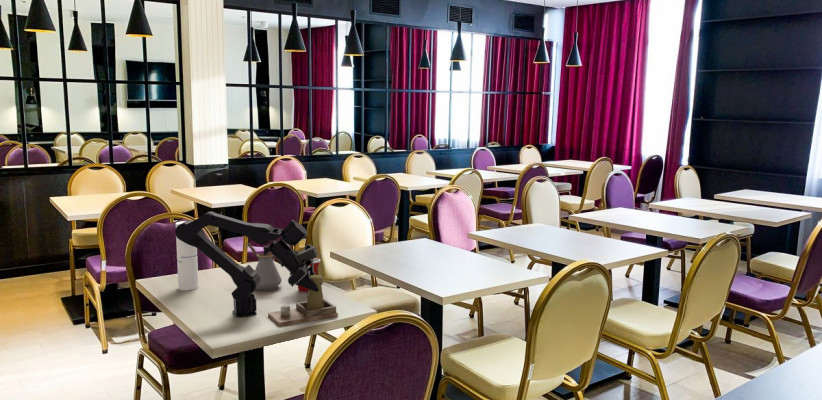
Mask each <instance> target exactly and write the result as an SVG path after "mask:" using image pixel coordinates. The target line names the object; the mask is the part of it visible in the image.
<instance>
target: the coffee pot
mask: <svg viewBox="0 0 822 400" xmlns="http://www.w3.org/2000/svg"><path fill="white" fill-rule="evenodd" d="M246 245H247V246H246ZM244 246H245V248H250V250H251V251H252V253H253V254H254V255H255V256H256V257H257V258H258V261H257V264H256V267H255V269H254V270H255V271H258V273H257V274H258V275H259V276H260V284H259V286H258V287H257V288H256V289H255V290H258V291H272V290H275V289H277V287H278V286H280V285H281V283H282V276H281V275H280V273H279V271H278V268H277V266H276V264H275V261H274V256H273V255H272V254H271V253H270V252H268V253H267V254H266V255H265V256H264V255H263V254H264V252H263V253H262V252H261V253H258V252H257V251H256V248H254V247H253V245H252V244H251V243H250V242H246V243H245V245H244Z"/></svg>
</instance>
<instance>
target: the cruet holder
mask: <svg viewBox="0 0 822 400" xmlns="http://www.w3.org/2000/svg"><path fill="white" fill-rule="evenodd" d="M323 301H324V308H320V309H314V310H307V309H306V305H307V300H305V301H301V302H300V301H299V302H296V303H295V307H296V308H292V309H291V306H290V304H289V305H286V304H285V305H284V304H283V305H281V306H280V310H277V311H271V312H267V313H268V314H267V316H268V318H270V320H272V322H274V323H275V324H276V325H277V326H278V327H284V326H288V325H289V326H290V325H294V324H295V325H296V324H301V323H306V322H312V321H318V320H324V319H330V318H336V317H339V313H338V312H337V306H336V305H334V304H332V303H331V302H330V301H329V300H327V299H325V298H323Z"/></svg>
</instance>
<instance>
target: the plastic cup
mask: <svg viewBox="0 0 822 400" xmlns="http://www.w3.org/2000/svg"><path fill="white" fill-rule="evenodd" d="M313 260H314V261H313V263H311V264H310V265H309V266H311V265H312V264H314V266H313V271H314V273H315V275H318V274H317V273H318V268H319V265H320V262H321V259H320V258H317V257H316V258H314V259H313ZM297 289H298V292H301V293H308V290H309V289H307V288H305V287H301V286H298V285H297Z"/></svg>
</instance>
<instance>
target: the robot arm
mask: <svg viewBox="0 0 822 400" xmlns="http://www.w3.org/2000/svg"><path fill="white" fill-rule="evenodd" d="M184 221H185V222H183V223H181V224H179V225H178V226H177V227H176V226H175V230H174V231H175V238H176V237H177V238H178V239H179V240H181V241H183V242H184V243H186V244H188V245H191V246H193V247H196V248H197V250H199V251H200V252H201V253H202V254H204V255H205V256H206V257H207V258H208V259H210V260H211V261H212V262H213V263H214V264H216V265H217V266H218V267H219V268H220V269H222V270H223V271H224V272H225V273H226V274H228V276H230V278H231V280H232V282H233V284H234V285H235V286H236V288H235V289H233V291H232V292H231V297H232V299H233V310H232V314H233V315H234V316H236V318H242V317H249V316H254V315H255V316H256V315H257V298H255V297H256V296H255V294H254V292H255V291H256V290H257V289H256V288H257V287H258V286H259V284H260V276H259V275H258V274H257V273H258V271H255V269H254V268H253V267H252V266H251V265H250V264H248V265H246V266H243V265H241V264H239V263H238V262H237V261H235V260H234V259H233V258H232V257H231V256H229V255H228V254H227V253H226V252H225V251H223V249H221V248H220V247H219V246H218V245H217V244H216V243H214V242H213V241H212V240H211V239H209V238H208V237H207V234H206V233H205V231H204V228H206V227H208V226H212V227H214V228H217V229H221V230H224V231H229V232H232V233H234V234H235V233H236V234H239V235H241V236H244V237H246V238H248V239H249V240H250V241H251V242H253V243H256V244H258V245H261V246H263V247H262V248H263V253H264V254H263V255H264V256H265V255H266V254H267V253H271V254H272V255H273V258H274V257H275V259H276V260H277V261H278V262H279V263H280V267H282V268H286V270H287V271H288V272H289V276H288V278H287V283H288V284H289V285H290V286H291V287H292V288H293V287H294V286H297V287H298V286H301V287H305V288H307V289H310V290H313V291H316V292H318V291H319V288H318V287H317V285H316V284H315V283H314V281H313V280H312V279H311V278H310V276H311V275H315V273H314V271H313V266H314V264H312V265H311V266H309V265H310V264H311V263H313V261H314V260H313V259H314V258H317V257H318V255H319V253H318V251H317V248H316V247H315V245H312V244H310V243H309V244H306V245H305V247H304V250H302V251H298V250H297V249H295V250H293V249H292V246H294V247H296V246H298V244H299V243H300V242H301V241H302V240H304V239H305V237H306V236H308V235H309V234H308V233H309V232H308V231H307V229H306V228H305V227H304V226H303V224H302V225H301V224H300V223H299V222H296V221H295V220H294V219H292V220H290V222H289V223H288V224H287V225H286V226H285V227H284V229H283V228H282V229H281V228H276V227H274V226H272V225H271V224H267V223H259V222H254V223H253V222H247V221H243V220H239V219H237V218H234V217H231V216H230V217H229V216H227V215H223V214H219V213H216V212H215V211H207V212H206V213H204V214H202V215H201V216H200V217H197V218H196V219H194V220H193V219H192V220H191V219H190V220H184ZM279 237H280V238H279ZM278 238H279V239H278ZM271 241H272V242H271ZM268 244H269V245H268Z"/></svg>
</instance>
